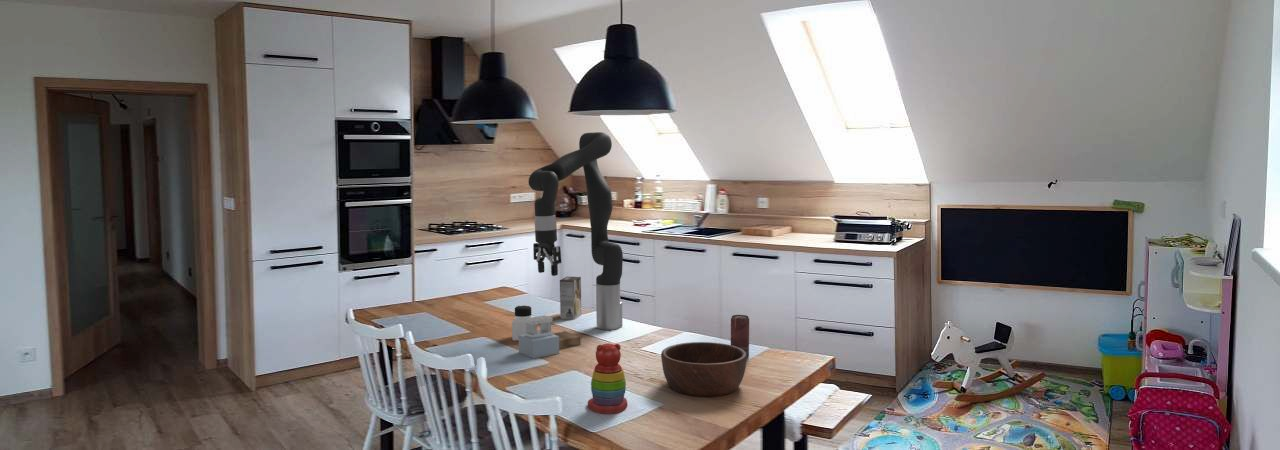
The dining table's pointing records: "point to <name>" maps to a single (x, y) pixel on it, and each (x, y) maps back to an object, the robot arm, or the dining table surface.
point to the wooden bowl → (703, 368)
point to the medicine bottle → (520, 321)
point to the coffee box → (570, 297)
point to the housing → (544, 327)
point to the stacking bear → (608, 381)
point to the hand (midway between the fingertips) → (547, 273)
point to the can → (740, 332)
